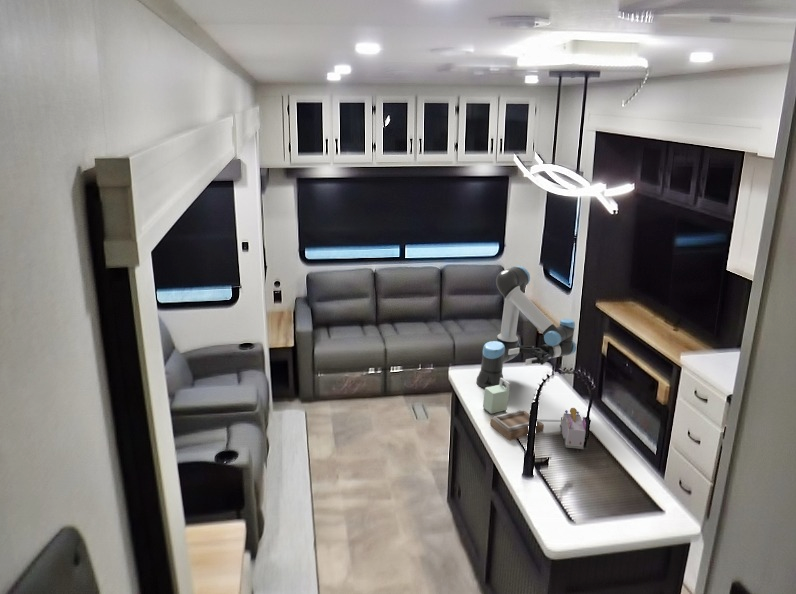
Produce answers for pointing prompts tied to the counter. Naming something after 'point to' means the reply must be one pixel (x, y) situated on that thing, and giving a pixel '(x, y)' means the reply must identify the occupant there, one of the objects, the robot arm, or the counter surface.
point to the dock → (514, 424)
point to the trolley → (496, 397)
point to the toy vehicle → (573, 429)
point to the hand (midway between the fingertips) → (517, 357)
